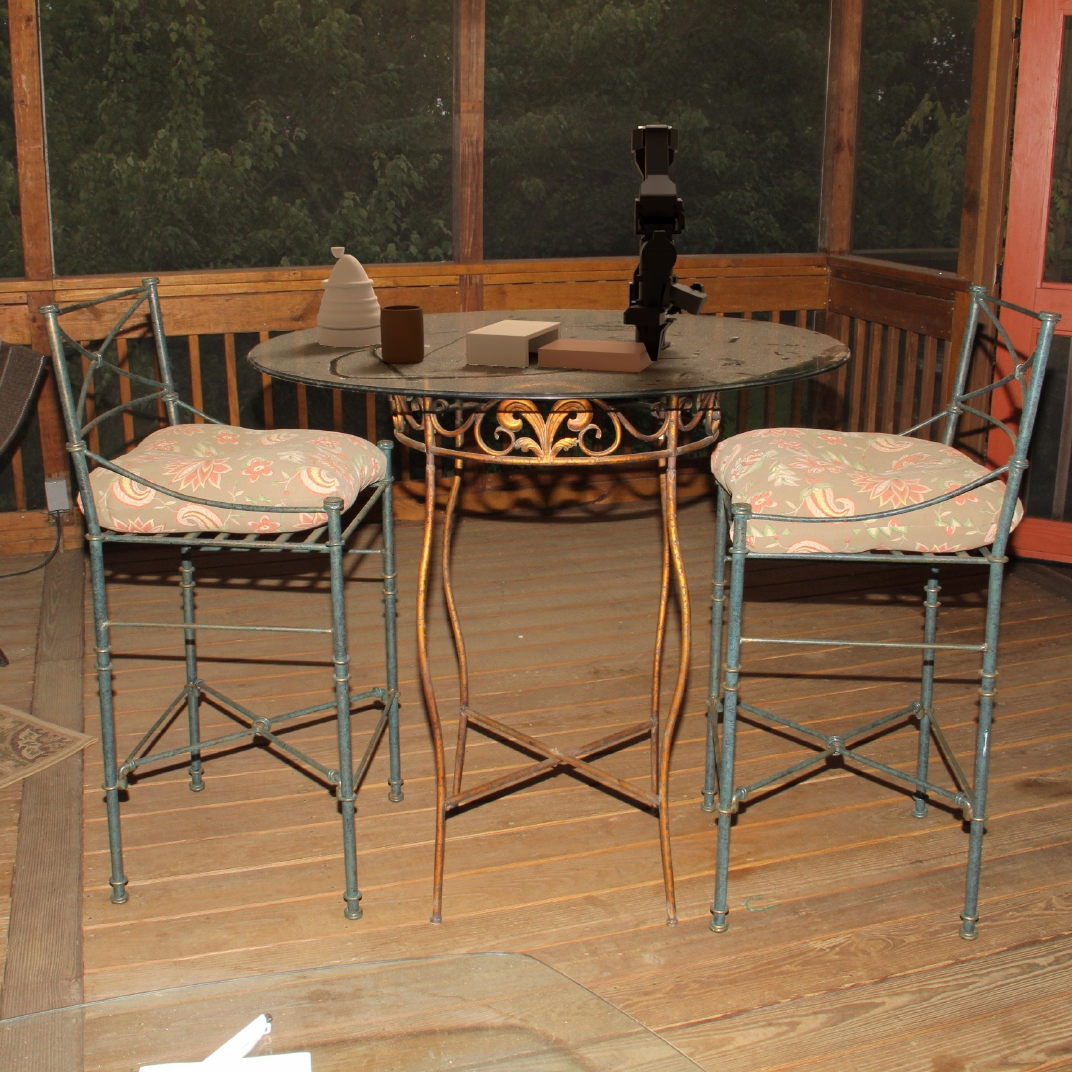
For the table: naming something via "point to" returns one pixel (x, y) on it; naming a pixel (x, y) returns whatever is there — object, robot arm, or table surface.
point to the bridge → (509, 342)
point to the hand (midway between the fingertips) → (654, 360)
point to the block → (595, 355)
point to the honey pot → (348, 306)
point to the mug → (402, 334)
